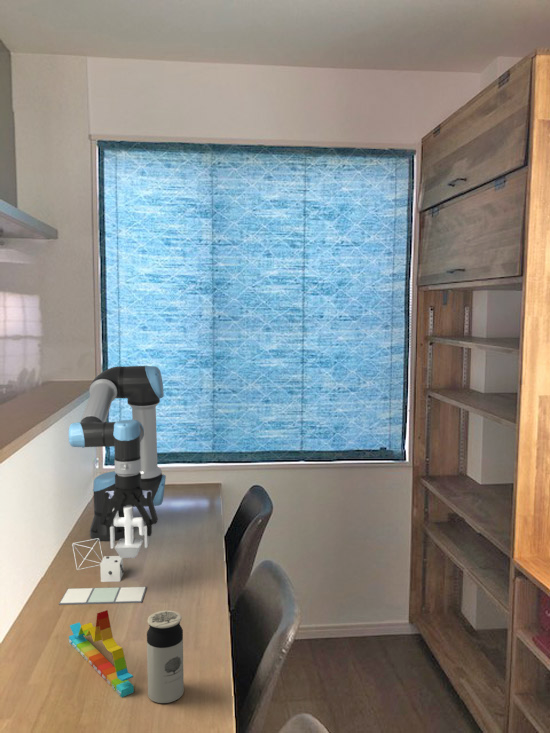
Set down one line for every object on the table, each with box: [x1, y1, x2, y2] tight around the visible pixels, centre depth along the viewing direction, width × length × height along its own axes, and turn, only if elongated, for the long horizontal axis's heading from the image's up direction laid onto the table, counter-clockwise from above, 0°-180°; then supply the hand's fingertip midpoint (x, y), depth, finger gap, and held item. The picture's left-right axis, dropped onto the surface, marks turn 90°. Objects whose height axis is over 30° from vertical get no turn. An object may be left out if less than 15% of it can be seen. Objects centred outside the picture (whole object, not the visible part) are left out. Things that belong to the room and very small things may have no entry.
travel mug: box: [146, 609, 185, 704], centre depth 147 cm, size 8×8×18 cm
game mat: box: [58, 586, 147, 606], centre depth 196 cm, size 10×24×1 cm, turn 93°
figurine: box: [113, 505, 146, 559], centre depth 194 cm, size 7×9×15 cm
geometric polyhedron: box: [71, 538, 104, 571], centre depth 219 cm, size 10×9×8 cm
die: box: [99, 555, 125, 583], centre depth 208 cm, size 6×6×6 cm
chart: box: [68, 609, 134, 698], centre depth 158 cm, size 30×3×15 cm, turn 39°
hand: (129, 546), depth 195 cm, fingers closed on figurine, 9 cm apart
